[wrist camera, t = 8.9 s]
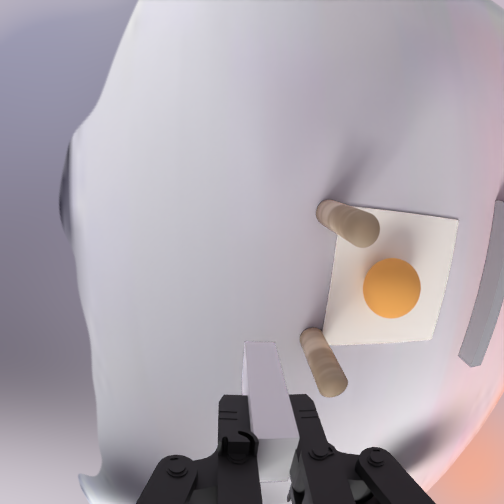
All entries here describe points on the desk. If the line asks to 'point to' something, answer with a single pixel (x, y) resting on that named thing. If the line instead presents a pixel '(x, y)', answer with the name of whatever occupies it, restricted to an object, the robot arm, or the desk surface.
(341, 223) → the post
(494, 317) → the stopper wall
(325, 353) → the post
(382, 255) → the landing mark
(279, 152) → the desk surface
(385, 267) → the ball
